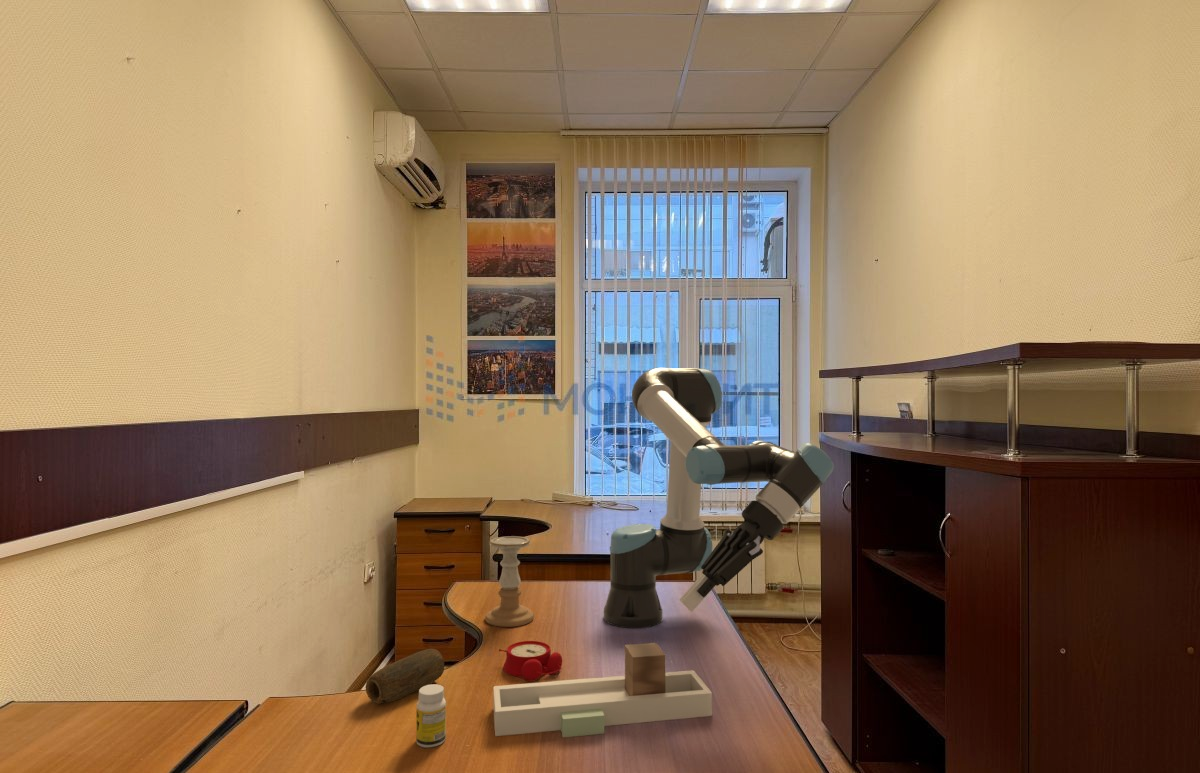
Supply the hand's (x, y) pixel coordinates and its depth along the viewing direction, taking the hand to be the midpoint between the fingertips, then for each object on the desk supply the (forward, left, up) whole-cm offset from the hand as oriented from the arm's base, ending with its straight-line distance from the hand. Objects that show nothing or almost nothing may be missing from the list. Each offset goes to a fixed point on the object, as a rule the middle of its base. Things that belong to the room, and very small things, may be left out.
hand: (685, 605), depth 120 cm
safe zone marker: (+18, -9, -18) cm, 27 cm away
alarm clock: (+15, -30, -18) cm, 38 cm away
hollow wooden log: (+40, -35, -18) cm, 56 cm away
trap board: (+14, -7, -18) cm, 24 cm away
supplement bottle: (+43, -15, -18) cm, 49 cm away
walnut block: (+7, -3, -16) cm, 17 cm away
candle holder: (+4, -61, -18) cm, 64 cm away
